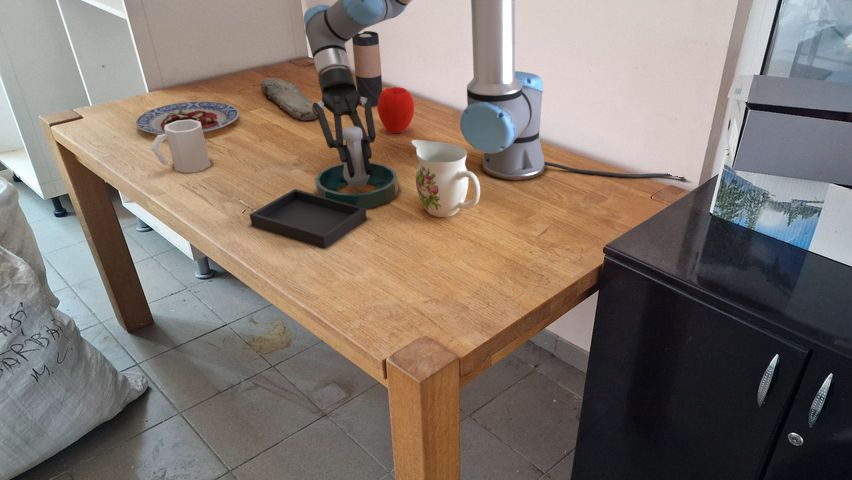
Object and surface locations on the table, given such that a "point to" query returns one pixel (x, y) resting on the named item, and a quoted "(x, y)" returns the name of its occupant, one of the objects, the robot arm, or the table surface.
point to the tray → (308, 217)
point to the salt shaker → (355, 157)
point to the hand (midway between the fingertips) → (360, 173)
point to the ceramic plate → (188, 116)
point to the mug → (184, 146)
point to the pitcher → (443, 178)
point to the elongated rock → (289, 98)
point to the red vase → (395, 109)
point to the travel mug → (367, 65)
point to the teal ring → (379, 176)
